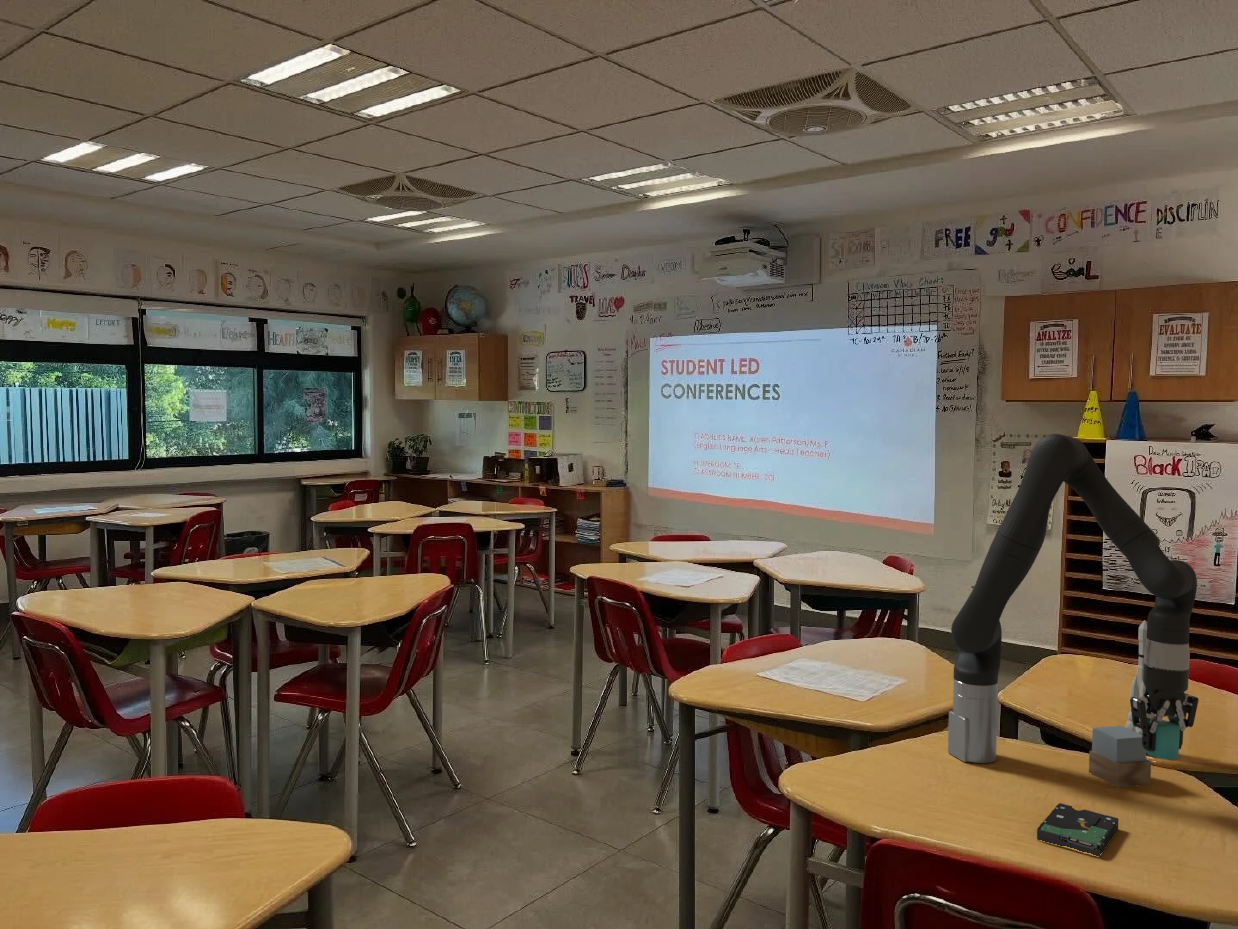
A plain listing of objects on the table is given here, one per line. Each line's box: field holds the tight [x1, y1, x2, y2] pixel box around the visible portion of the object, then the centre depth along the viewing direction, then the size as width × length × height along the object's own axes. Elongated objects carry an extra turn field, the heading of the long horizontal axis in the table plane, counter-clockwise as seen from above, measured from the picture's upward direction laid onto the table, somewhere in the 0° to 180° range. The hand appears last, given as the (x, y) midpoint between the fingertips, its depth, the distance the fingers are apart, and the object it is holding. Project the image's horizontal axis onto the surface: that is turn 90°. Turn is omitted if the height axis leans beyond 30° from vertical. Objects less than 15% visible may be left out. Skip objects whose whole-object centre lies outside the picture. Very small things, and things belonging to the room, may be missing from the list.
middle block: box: [1091, 725, 1147, 763], centre depth 187 cm, size 7×7×5 cm
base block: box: [1088, 750, 1152, 788], centre depth 187 cm, size 8×8×5 cm
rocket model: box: [1124, 620, 1156, 735], centre depth 203 cm, size 7×7×30 cm
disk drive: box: [1036, 802, 1119, 857], centre depth 161 cm, size 10×3×15 cm
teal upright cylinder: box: [1145, 719, 1180, 761], centre depth 173 cm, size 6×6×6 cm
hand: (1161, 748), depth 173 cm, fingers closed on teal upright cylinder, 5 cm apart
